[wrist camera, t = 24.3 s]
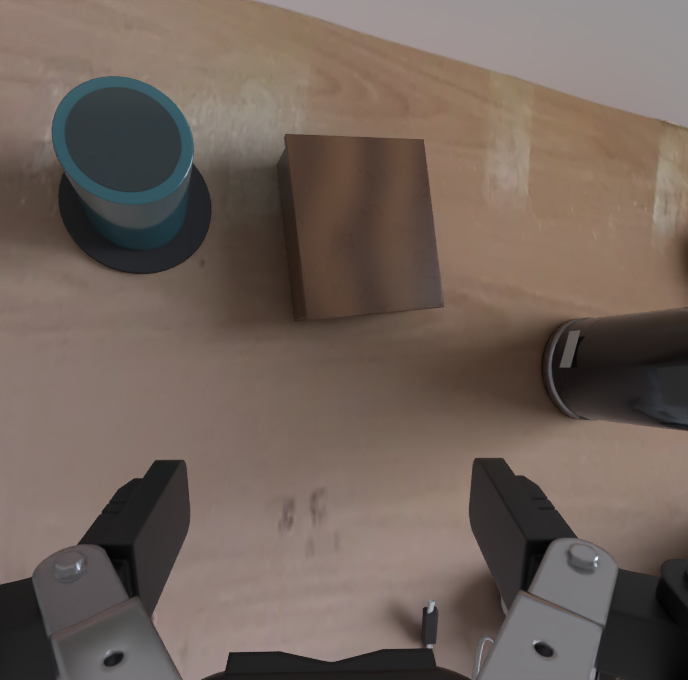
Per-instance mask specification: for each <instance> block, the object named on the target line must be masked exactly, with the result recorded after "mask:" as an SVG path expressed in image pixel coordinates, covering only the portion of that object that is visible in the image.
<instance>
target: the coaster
mask: <svg viewBox="0 0 688 680" xmlns="http://www.w3.org/2000/svg"><path fill="white" fill-rule="evenodd" d="M59 207H60V212H61V216H62V219H63V222H64V224H65V226H66V228H67V230H68V232H69V234H70V235H71V236H72V238H73V239H74V241H75V242H76V243H77V244H78V245H79V247H80V248H81V249H82V250H83V251H85V252H86V253H87V254H88V255H89V256H90V257H92V258H93V259H95V260H96V261H98V262H100V263H102V264H104V265H105V266H108V267H110V268H113V269H115V270H119V271H123V272H127V273H135V274H149V273H157V272H161V271H165V270H168V269H170V268H173V267H175V266H177V265H179V264H181V263H182V262H184V261H185V260H186V259H188V258H189V257H190V256H191V255H192V254H193V253H194V252H195V251H196V250H197V249H198V248H199V246H200V245H201V243H202V242H203V240H204V238H205V236H206V233H207V231H208V228H209V224H210V219H211V201H210V195H209V192H208V189H207V185H206V183H205V181H204V179H203V177H202V175H201V174H200V172H199V171H198V169H197V168H196V167H195V165H194V164H192V172H191V180H190V189H189V197H188V205H187V213H186V218H185V222H184V224H183V226H182V228H181V230H180V231H179V233H178V234H177V235H176V236H175V237H174V238H173V239H172V240H171V241H169V242H168V243H166V244H164V245H162V246H160V247H157V248H154V249H150V250H131V249H126V248H123V247H120V246H117V245H115V244H113V243H112V242H110V241H108V240H107V239H105V238H104V237H103V236H102V235H101V234H100V233H99V232H98V231H97V230H96V229H95V228H94V226H93V225H92V223H91V221H90V220H89V218H88V216H87V214H86V212H85V210H84V208H83V206H82V204H81V202H80V200H79V199H78V197H77V195H76V193H75V191H74V189H73V187H72V185H71V183H70V181H69V179H68V178H67V176H66V174H65V172H64V173H63V175H62V179H61V182H60V187H59Z"/></svg>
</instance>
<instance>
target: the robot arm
mask: <svg viewBox="0 0 688 680" xmlns="http://www.w3.org/2000/svg"><path fill="white" fill-rule="evenodd" d="M543 378H544V383H545V386H546V389H547V392H548V394H549V396H550V398H551V399H552V401H553V402H554V404H555V405H556V406H557V407H558V408H559V409H560V410H561V411H562V412H563V413H565V414H566V415H568V416H570V417H573V418H576V419H583V420H601V421H609V422H616V423H624V424H632V425H641V426H649V427H657V428H666V429H674V430H682V431H688V307H684V308H675V309H667V310H658V311H650V312H641V313H633V314H624V315H616V316H606V317H598V318H580V319H573V320H570V321H568V322H565V323H564V324H562V325H561V326H560V327H558V328H557V329H556V330H555V332H554V333H553V334H552V336H551V337H550V339H549V341H548V343H547V345H546V348H545V352H544V357H543ZM469 518H470V525H471V528H472V531H473V534H474V536H475V538H476V540H477V543H478V545H479V547H480V549H481V552H482V554H483V556H484V558H485V561H486V563H487V565H488V567H489V570H490V572H491V574H492V576H493V579H494V581H495V583H496V585H497V588H498V590H499V592H500V594H501V597H502V599H503V601H504V603H505V605H506V608H507V610H508V614H507V616H506V618H505V620H504V622H503V624H502V626H501V628H500V630H499V632H498V634H497V636H496V638H495V640H494V642H493V644H492V647H491V649H490V651H489V653H488V655H487V657H486V659H485V661H484V663H483V665H482V667H481V669H480V671H479V673H478V675H477V677H476V679H475V680H598V679H599V674H600V673H603V674H606V675H610V676H614V677H618V678H622V679H625V680H688V560H686V559H671V560H668V561H665V562H664V563H663V564H662V565H661V568H660V573H659V577H656V576H651V575H646V574H641V573H636V572H631V571H627V570H623V569H620V568H618V565H617V563H616V561H615V559H614V558H613V557H612V556H611V555H610V554H609V553H608V552H607V551H605V550H604V549H603V548H601V547H599V546H597V545H595V544H593V543H591V542H588V541H585V540H582V539H578V538H577V536H576V535H575V534H574V532H573V531H572V530H571V528H570V527H569V526H568V524H567V523H566V522H565V520H564V519H563V518H562V516H561V515H560V514H559V512H558V511H557V510H555V507H554V506H553V505H552V503H551V502H550V501H549V500H547V497H546V495H545V494H544V493H543V491H542V490H541V489H540V487H539V486H538V485H536V484H535V483H533V482H532V481H530V480H529V479H528V478H526V477H525V476H515V474H514V473H513V472H512V470H511V469H510V467H509V466H508V464H507V463H506V462H505V460H504V459H503V458H475V459H474V462H473V467H472V478H471V490H470V502H469ZM189 523H190V502H189V490H188V478H187V467H186V463H185V461H184V460H156V461H154V463H153V464H152V466H151V467H150V469H149V470H148V471H147V473H146V474H145V476H144V477H143V478H134V479H133V480H131V481H130V482H128V483H127V484H125V485H124V486H122V487H121V488H120V489H118V491H117V492H116V493H115V495H114V496H113V497H112V499H111V500H110V501H109V504H107V505H106V507H105V508H104V509H103V511H102V514H100V515H99V516H98V517H97V519H96V520H95V522H94V523H93V524H92V526H91V527H90V528H89V530H88V531H87V532H86V534H85V535H84V536H83V538H82V539H81V540H80V542H79V543H78V544H77V545H76V546H71V547H68V548H65V549H62V550H60V551H58V552H56V553H54V554H52V555H50V556H49V557H47V558H46V559H45V560H43V561H42V562H41V563H40V564H39V565H38V566H37V568H36V569H35V571H34V573H33V576H32V577H31V578H27V579H23V580H19V581H14V582H10V583H6V584H1V585H0V680H183V679H182V677H181V676H180V674H179V672H178V670H177V668H176V666H175V664H174V662H173V660H172V659H171V657H170V655H169V653H168V651H167V649H166V647H165V645H164V643H163V642H162V640H161V638H160V636H159V634H158V632H157V630H156V628H155V627H154V625H153V623H152V621H151V619H150V618H151V616H152V614H153V611H154V609H155V607H156V604H157V602H158V600H159V598H160V595H161V593H162V591H163V588H164V586H165V584H166V581H167V579H168V577H169V574H170V572H171V570H172V567H173V565H174V563H175V560H176V558H177V556H178V554H179V551H180V549H181V547H182V544H183V542H184V540H185V537H186V535H187V532H188V528H189ZM202 680H471V679H469V678H468V677H466V676H463V675H461V674H459V673H457V672H454V671H451V670H448V669H446V668H442V667H438V666H436V662H435V658H434V654H433V650H432V648H421V649H382V650H378V651H374V652H371V653H367V654H363V655H359V656H355V657H351V658H348V659H344V660H340V661H336V662H326V661H321V660H317V659H312V658H307V657H303V656H298V655H294V654H289V653H285V652H280V651H277V652H229V656H228V661H227V665H226V670H225V671H223V672H219V673H216V674H213V675H211V676H208V677H206V678H204V679H202Z"/></svg>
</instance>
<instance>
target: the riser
mask: <svg viewBox="0 0 688 680" xmlns="http://www.w3.org/2000/svg"><path fill="white" fill-rule="evenodd" d="M284 142H285V150H284V152H283V153H282V155H281V157H280V159H279V161H278V163H277V173H278V182H279V190H280V199H281V208H282V216H283V225H284V233H285V242H286V250H287V259H288V268H289V276H290V285H291V293H292V302H293V311H294V319H295V321H301V320H317V319H327V318H338V317H348V316H359V315H369V314H380V313H390V312H401V311H411V310H422V309H432V308H441V307H444V303H443V295H442V287H441V278H440V270H439V262H438V254H437V245H436V237H435V229H434V221H433V212H432V204H431V196H430V187H429V179H428V171H427V163H426V154H425V146H424V140H423V139H397V138H372V137H346V136H321V135H295V134H285V136H284Z"/></svg>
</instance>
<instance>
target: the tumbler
mask: <svg viewBox="0 0 688 680" xmlns="http://www.w3.org/2000/svg"><path fill="white" fill-rule="evenodd" d="M52 142H53V147H54V150H55V153H56V156H57V158H58V160H59V162H60V164H61V166H62V168H63V170H64V172H65V174H66V176H67V178H68V179H69V181H70V183H71V185H72V187H73V189H74V191H75V193H76V195H77V197H78V199H79V200H80V202H81V204H82V206H83V208H84V210H85V212H86V214H87V216H88V218H89V220H90V221H91V223H92V225H93V226H94V228H95V229H96V230H97V231H98V232H99V233H100V234H101V235H102V236H103V237H104V238H105V239H107V240H108V241H110V242H112V243H113V244H115V245H117V246H120V247H123V248H126V249H131V250H150V249H154V248H157V247H160V246H162V245H164V244H166V243H168V242H169V241H171V240H172V239H173V238H174V237H175V236H176V235H177V234H178V233H179V231H180V230H181V228H182V226H183V224H184V222H185V218H186V213H187V205H188V197H189V189H190V180H191V172H192V164H193V155H194V143H193V137H192V133H191V130H190V127H189V125H188V123H187V120H186V118H185V117H184V115H183V114H182V112H181V111H180V109H179V108H178V107H177V106H176V104H175V103H174V102H173V101H172V100H171V99H170V98H168V97H167V96H166V95H165V94H163V93H162V92H161V91H159V90H158V89H156V88H154V87H153V86H151V85H149V84H147V83H144V82H141V81H139V80H135V79H131V78H127V77H119V76H108V77H100V78H96V79H92V80H89V81H86V82H84V83H82V84H80V85H78V86H77V87H75V88H74V89H73V90H71V91H70V92H69V93H68V94H67V95H66V96H65V97H64V98H63V100H62V101H61V103H60V104H59V105H58V108H57V110H56V112H55V115H54V118H53V122H52Z"/></svg>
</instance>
